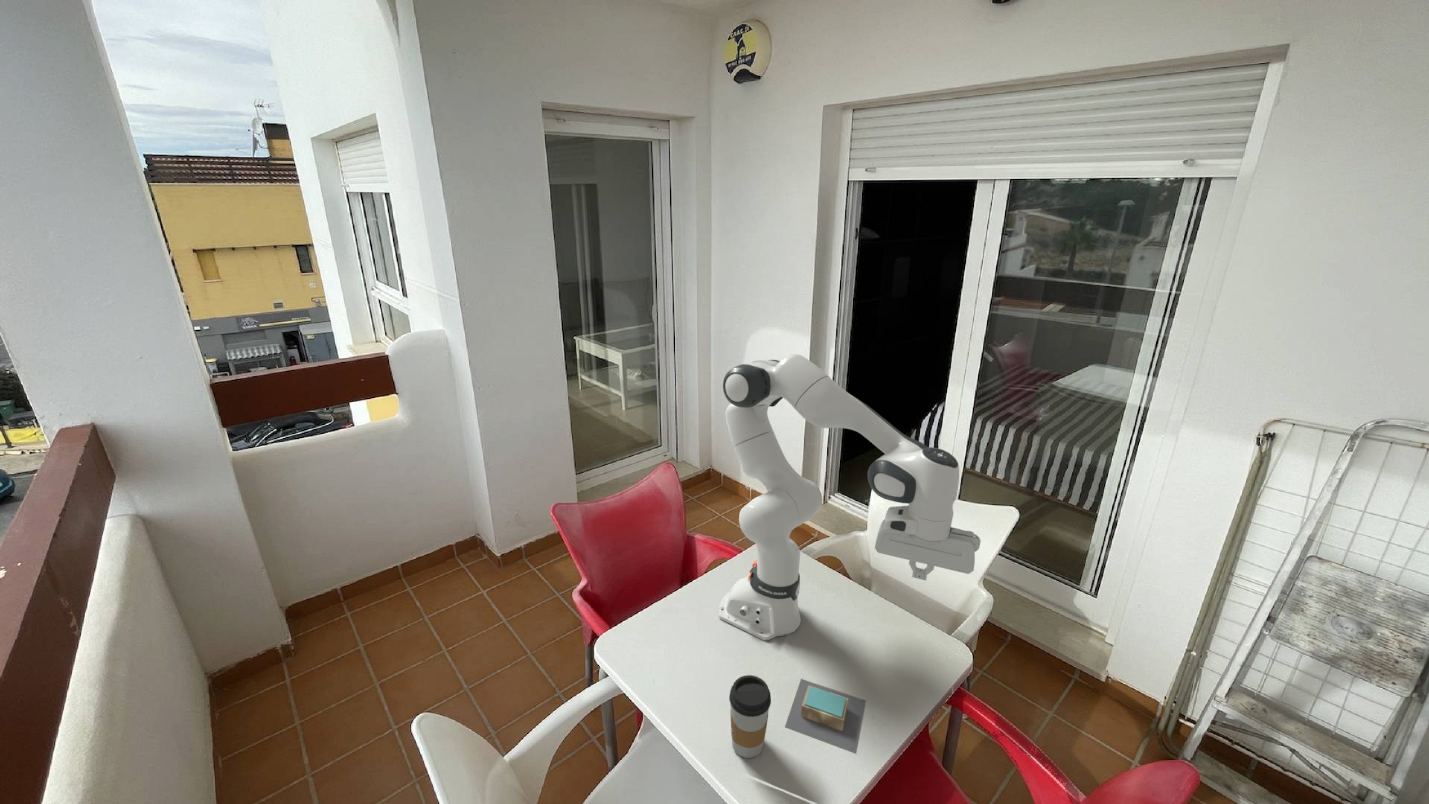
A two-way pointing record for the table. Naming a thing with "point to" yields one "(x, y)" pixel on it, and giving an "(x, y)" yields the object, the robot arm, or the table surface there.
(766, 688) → the coffee cup
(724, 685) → the table surface
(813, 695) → the plaque
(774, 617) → the robot arm
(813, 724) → the mat
